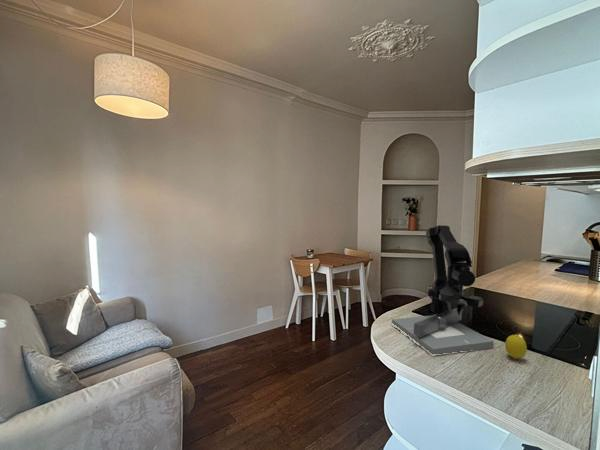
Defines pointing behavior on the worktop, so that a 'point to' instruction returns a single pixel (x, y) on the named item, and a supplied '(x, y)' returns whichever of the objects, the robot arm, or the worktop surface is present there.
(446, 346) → the cover plate
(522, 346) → the lemon
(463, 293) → the robot arm
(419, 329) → the dark grey bar
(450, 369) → the worktop surface
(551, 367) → the worktop surface
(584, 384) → the worktop surface
